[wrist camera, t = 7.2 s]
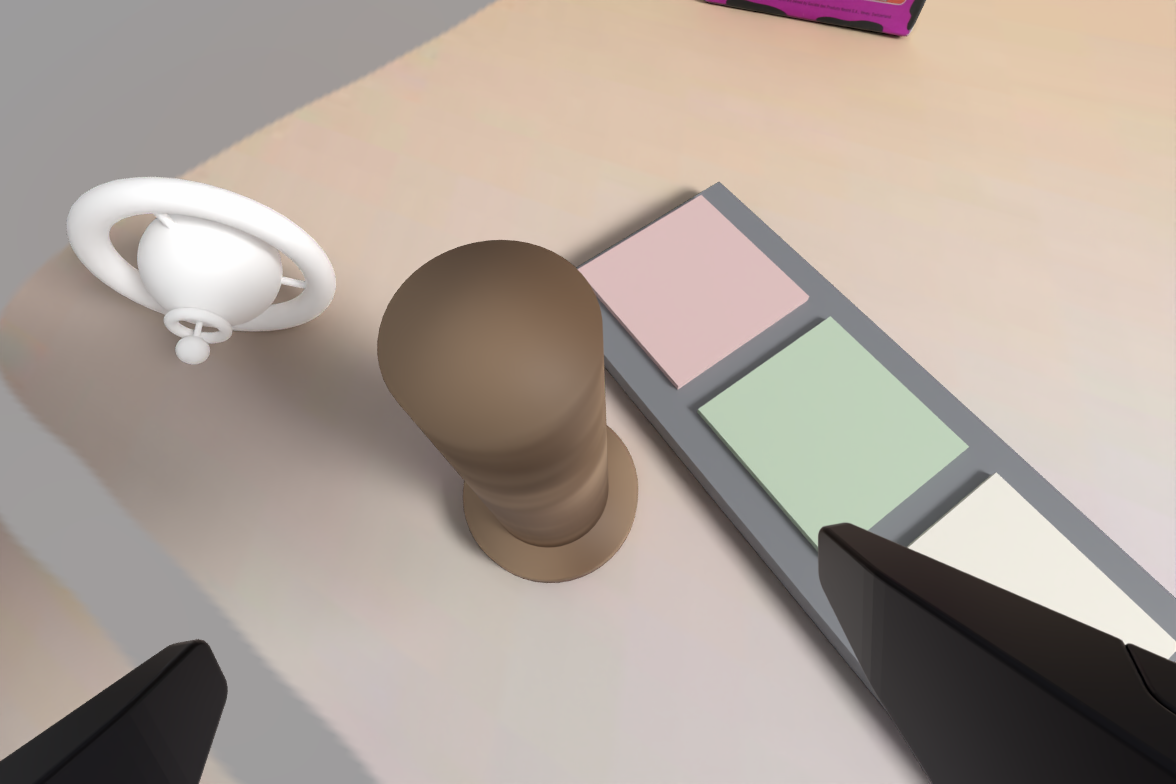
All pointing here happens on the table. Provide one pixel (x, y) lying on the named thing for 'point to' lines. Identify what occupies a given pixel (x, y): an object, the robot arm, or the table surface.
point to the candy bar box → (842, 12)
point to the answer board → (837, 427)
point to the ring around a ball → (201, 258)
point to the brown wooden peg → (515, 403)
